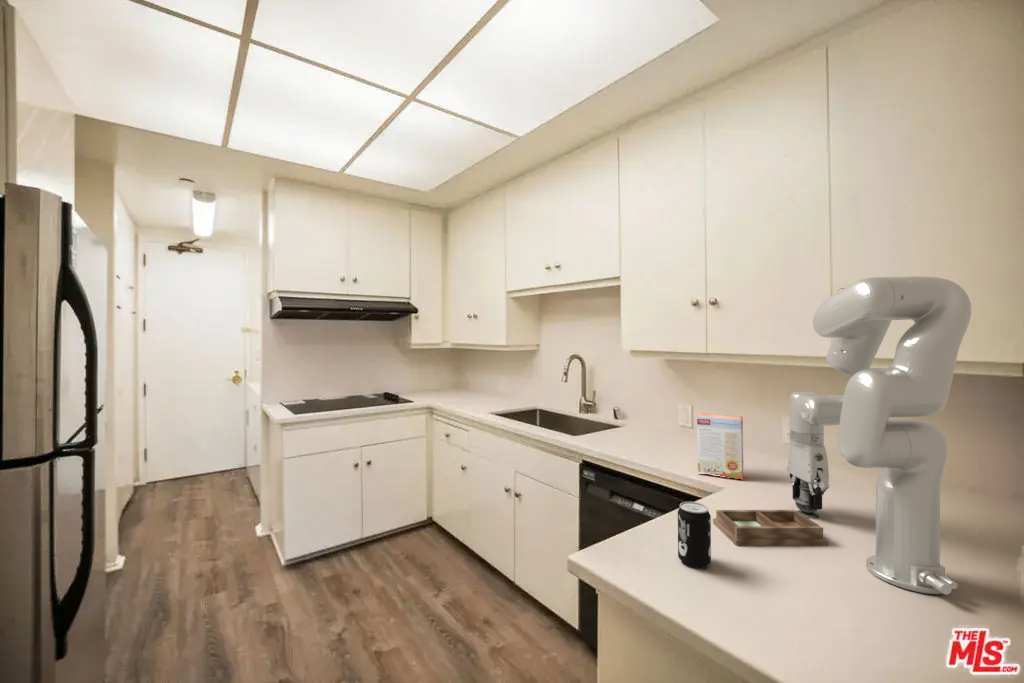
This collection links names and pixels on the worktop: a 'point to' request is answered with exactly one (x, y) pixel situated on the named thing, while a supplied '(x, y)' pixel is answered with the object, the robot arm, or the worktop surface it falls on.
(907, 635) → the worktop surface
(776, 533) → the wooden divided tray
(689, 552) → the beverage can
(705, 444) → the cracker box
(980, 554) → the worktop surface
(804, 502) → the salt shaker
